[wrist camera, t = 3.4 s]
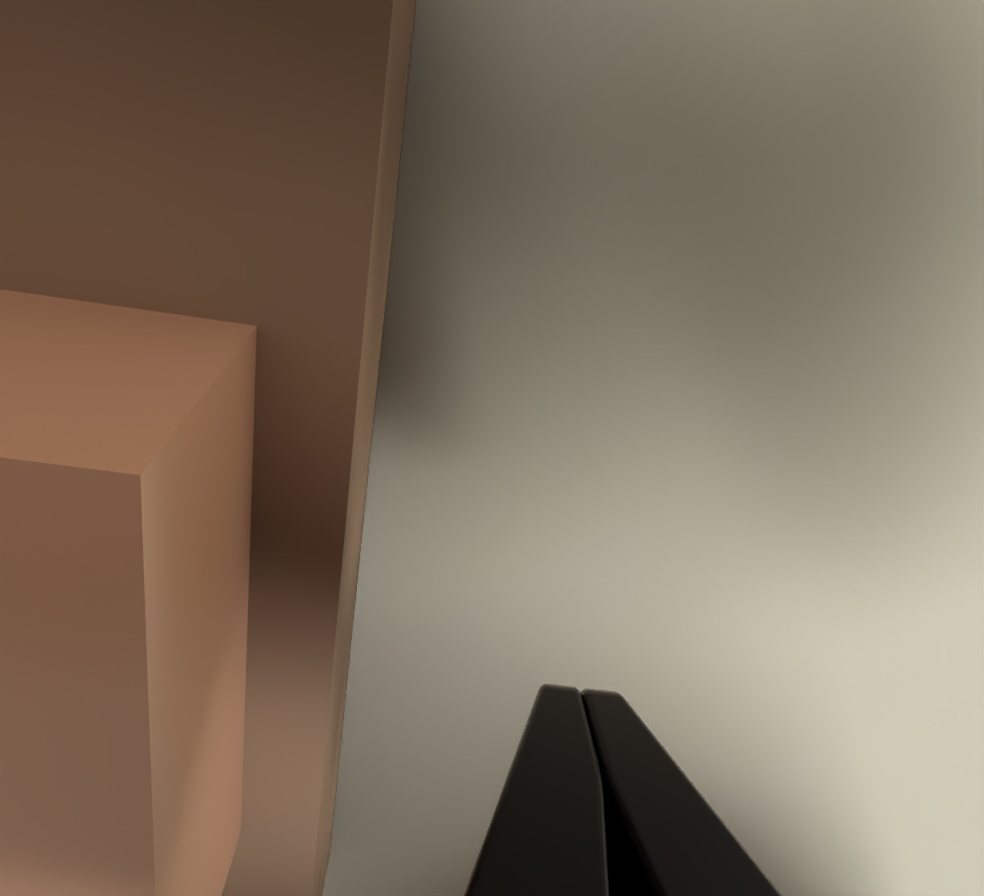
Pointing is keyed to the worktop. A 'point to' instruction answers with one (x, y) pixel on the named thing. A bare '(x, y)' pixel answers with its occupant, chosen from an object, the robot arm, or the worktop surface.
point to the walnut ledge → (236, 299)
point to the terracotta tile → (122, 596)
